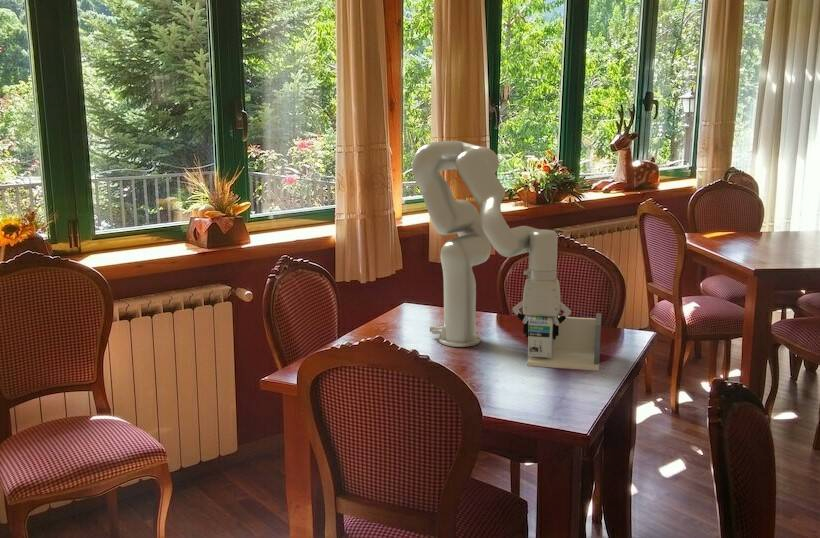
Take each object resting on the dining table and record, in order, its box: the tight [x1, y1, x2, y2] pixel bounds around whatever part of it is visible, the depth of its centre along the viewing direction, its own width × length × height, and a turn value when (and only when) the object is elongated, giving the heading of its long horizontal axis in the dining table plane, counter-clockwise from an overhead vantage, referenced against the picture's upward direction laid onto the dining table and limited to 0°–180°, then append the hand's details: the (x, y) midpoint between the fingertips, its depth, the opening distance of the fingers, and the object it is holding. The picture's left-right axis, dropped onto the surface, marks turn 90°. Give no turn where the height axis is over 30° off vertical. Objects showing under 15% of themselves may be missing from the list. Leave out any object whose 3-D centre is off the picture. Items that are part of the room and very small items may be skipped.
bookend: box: [594, 312, 602, 366], centre depth 219 cm, size 1×12×11 cm, turn 167°
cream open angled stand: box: [527, 315, 600, 371], centre depth 221 cm, size 19×15×10 cm
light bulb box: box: [527, 316, 554, 358], centre depth 222 cm, size 11×7×11 cm, turn 168°
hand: (540, 336), depth 222 cm, fingers closed on light bulb box, 6 cm apart
